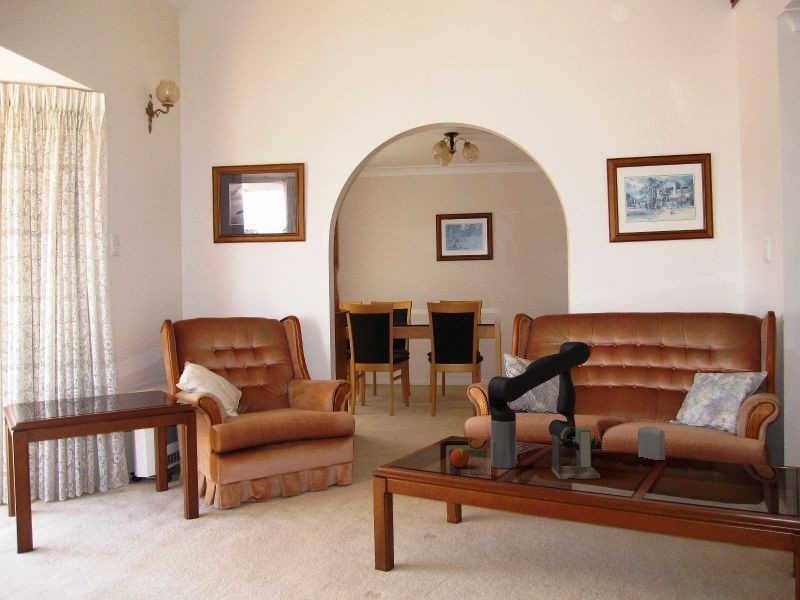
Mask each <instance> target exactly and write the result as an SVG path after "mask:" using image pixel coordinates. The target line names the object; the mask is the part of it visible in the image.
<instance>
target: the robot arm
mask: <svg viewBox="0 0 800 600" xmlns="http://www.w3.org/2000/svg"><path fill="white" fill-rule="evenodd" d="M590 357H591V349H590V346H589V345H588V344H587V343H585V342H584V341H566V342H563V343H562V344H561V345H560V348H559V352H558V353H552V354H548V355H545V356H542V357H540V358H538V359H535V360H533V361H532V362H530V363H528V365H527V366H526V368H525V369H524V370H525V371H524V372H523V373H521V374H518V375H515V376H512V377H511V376H510V377H508V376H501V375H500V376H493V377H492V378H490V380H489V381H488V385H487V402H488V405H487V406H488V411H489V415H490V427H491V428H490V432H491V434H490V435H491V436H490V438H491V439H490V465H491V466H492V468H493V469H494V468H496V469H513V468H516V467H517V464H518V463H517V462H518V461H517V414H516V412H515V411H514V410H513V409H512V408H510V406H509V405H508V403H513V402H515V401H517V400H518V399H520V398H521V397H522V396H524V395H525V394H526V393H528V392H530V391H531V390H533V389H536V388H537V387H538V386H541V385H542V384H545V383H547V382H549V381H551V380H552V379H554V378H556V377H558V380H559V384H558V385H559V386H558V397H557V403H556V409H555V410H556V412H557V414H559V415H561V416H563V417H565V419H566V421H565V420H562V419H561V420H560V419H553V420H552V421H551V422H549V425H548V432H549V435H550V436H551V437H552V434H555V435H556V436H557V437H558V438H560V442H561V447H563V448H565V449H568V450H572V451H576V450H577V451H579V444H578V443H577V442H576V428H577V427H576V419H575V417H576V416H575V410H576V409H575V407H576V400H577V391H576V389H575V385H574V382H573V379H572V368H573V369H574V368H575V367H579V366H580V365H584V364H585V363H586V362H588V360H589V359H590ZM596 448H597V438H596V437H594V438H591V451H593V450H594V449H596Z"/></svg>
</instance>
